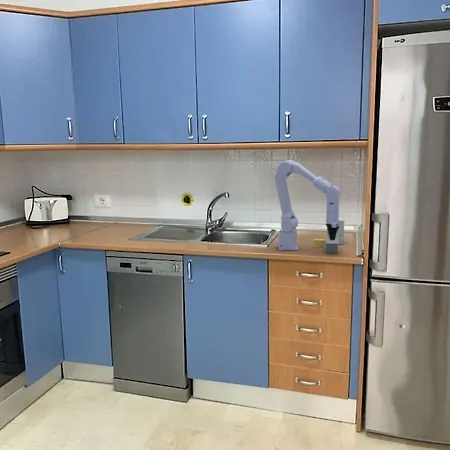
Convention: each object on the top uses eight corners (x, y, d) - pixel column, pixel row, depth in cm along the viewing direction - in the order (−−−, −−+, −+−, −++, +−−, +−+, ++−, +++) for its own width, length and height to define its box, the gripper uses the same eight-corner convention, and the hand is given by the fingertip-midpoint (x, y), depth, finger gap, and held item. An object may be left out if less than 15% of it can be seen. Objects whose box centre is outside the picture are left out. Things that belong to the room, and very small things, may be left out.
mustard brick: (313, 248, 236) (314, 240, 235) (313, 246, 239) (313, 238, 238) (325, 248, 235) (325, 240, 234) (324, 246, 238) (324, 238, 237)
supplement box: (340, 241, 249) (340, 217, 246) (343, 244, 241) (344, 220, 239) (326, 241, 248) (326, 218, 246) (329, 244, 241) (330, 220, 239)
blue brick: (327, 249, 232) (327, 241, 231) (324, 248, 235) (324, 240, 234) (337, 248, 233) (337, 241, 232) (334, 247, 236) (334, 239, 235)
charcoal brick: (326, 253, 226) (326, 245, 225) (325, 251, 228) (325, 243, 228) (337, 253, 225) (338, 245, 224) (336, 251, 228) (337, 243, 227)
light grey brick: (326, 243, 225) (326, 235, 224) (325, 242, 228) (326, 234, 227) (338, 243, 224) (338, 235, 223) (337, 242, 227) (337, 234, 226)
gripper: (343, 214, 215) (342, 242, 218) (339, 208, 229) (338, 235, 232) (327, 214, 216) (327, 242, 219) (324, 208, 230) (323, 235, 233)
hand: (331, 239), depth 225 cm, fingers closed on light grey brick, 3 cm apart
